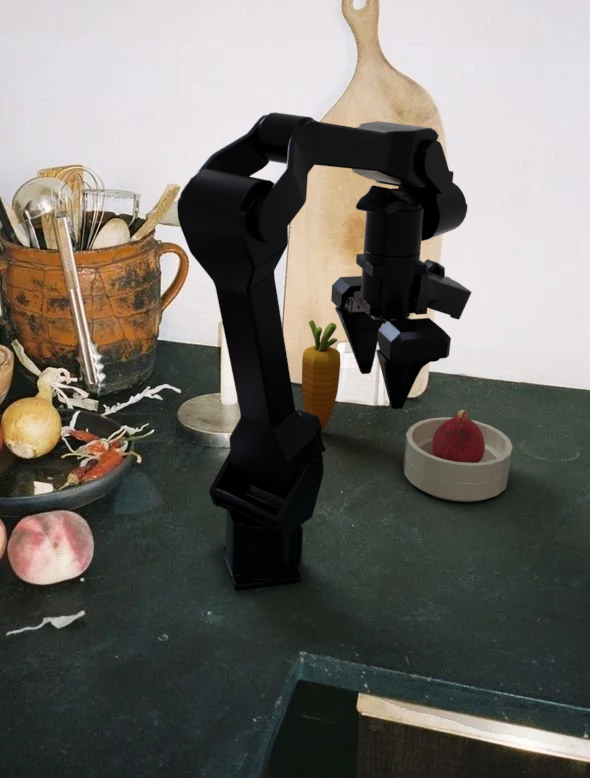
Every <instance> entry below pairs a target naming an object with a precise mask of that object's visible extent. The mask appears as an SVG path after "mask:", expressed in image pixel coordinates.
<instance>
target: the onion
mask: <svg viewBox="0 0 590 778" xmlns="http://www.w3.org/2000/svg"><path fill="white" fill-rule="evenodd" d="M468 415H469V412H468V411H466V409H460V410H458V411H457V414H456V415H455V416H454V417H451V419H449V420H447V421H445V422H444V423H443V424H442V425H440V426H439V427H438V429H437V430H436V432H435V434H434V436H433V441H432V452H433V454H434V456H436V457H438V458H441V459H445V460H450V461H454V462H465V463H479V462H480V460H481V459H482V457H483V455H484V451H485V444H484V438H483V435H482V432H481V430H480V429H479V427H478V426H477V425H476V424H475V423H474V422H473V421H471V420H472V419H470V418H468Z"/></svg>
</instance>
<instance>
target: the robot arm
mask: <svg viewBox="0 0 590 778" xmlns="http://www.w3.org/2000/svg"><path fill="white" fill-rule="evenodd" d="M438 139H439V134H438V132H437V131H436V129H434V128H432V127H426V126H420V125H419V126H418V125H411V124H404V123H395V122H387V121H380V120H376V121H369V122H363V123H361V124H359V125H358V126H357V127H353V126H348V125H343V124H334V123H330V122H329V123H328V122H324V121H323V122H321V121H318V120H316V119H314V118H313V117H311V116H306V115H297V114H291V113H283V112H275V111H274V112H269V113H268V114H262V116H260V117H259V119H257V120H256V121H255V122H254V124H253V126H251V128H249V130H248V131H247V133H245V134H243V135H242V136H240V137H238V138H236V139H235V140H233V141H231V142H230V143H228V144H226V145H225V146H222V147H221V148H220V149H218V150H216V151H214V152H213V153H212V154H211V155H209V156H208V158H207V159H206V160H205V162H204V163H203V164H202V165H201V166H200V168H199V169H198V170H197V171H196V172H195V173H194V175H192V176H191V177H190V178H189V180H188V182H187V183H186V185H184V187H183V189H182V190H181V192H180V195H179V198H177V207H176V211H177V220H178V224H179V226H180V229H181V231H182V234H183V237H184V240H185V242H186V245H187V248H188V250H189V253H190V254H191V255H192V257H193V258H194V259H195V260H196V262H197V263H198V264H199V265H200V267H201V268H202V269H203V270H204V272H205V273H206V275H208V276H209V278H210V279H211V281H212V282H213V285H214V287H215V293H216V297H217V302H218V307H219V312H220V313H219V314H220V317H221V323H222V328H223V332H224V338H225V342H226V347H227V353H228V357H229V362H230V367H231V373H232V378H233V383H234V388H235V393H236V398H237V402H238V408H239V414H240V415H239V416H240V418H239V419H238V421H237V423H236V425H235V427H234V428H233V430H232V431H231V434H230V435H229V453H228V455H227V456H226V458H225V460H224V462H223V463H222V465H221V467H220V469H219V471H218V473H217V475H216V476H215V478H214V480H213V482H212V483H211V485H210V487H209V490H208V492H209V496H210V499H211V502H212V505H213V506H216V507H220V508H222V509H224V510H226V523H225V524H226V525H225V526H226V527H225V528H226V529H225V537H226V539H225V545H224V546H222V547H221V556H222V558H223V561H224V563H225V567H226V569H227V571H228V575H229V577H230V580H231V582H232V585H233V587H234V589H237V590H244V589H251V588H252V589H253V588H259V587H267V586H275V585H284V584H292V583H298V582H301V580H302V572H301V570H300V569H299V567H298V566H299V565H301V563H302V560H303V541H304V540H303V539H304V538H303V537H304V528H303V526H302V525H303V524H305V523H306V522H307V521H309V520H310V519H312V518H313V515H314V512H315V508H316V504H317V501H318V496H319V493H320V489H321V484H322V481H323V477H324V473H325V471H324V470H325V467H324V456H323V453H324V452H326V450H327V448H326V445H324V442H323V436H322V431H321V423H320V420H319V418H318V416H316V415H313V414H311V413H308V412H305V410H302V409H300V408H297V407H296V405H295V398H294V393H293V386H292V381H291V373H290V367H289V360H288V356H287V355H288V354H287V348H286V342H285V336H284V335H285V334H284V328H283V321H282V316H281V311H280V304H279V298H278V297H279V296H278V291H277V285H276V276H275V270H276V269H277V266H278V265H279V263H280V261H281V258H282V257H283V255H284V253H285V251H286V249H287V247H288V244H289V225H290V224H291V223H292V221H293V220H294V219H295V218H296V217H297V215H298V214H299V212H300V211H301V210H302V208H303V207H304V205H305V204H306V201H307V193H308V179H309V178H308V177H309V173H310V171H311V170H312V169H313V168H314V166H321V167H332V168H339V169H351V171H352V172H353V173H354V174H357V175H358V176H360V177H363V178H365V179H368V180H372V181H375V182H376V183H377V184H381V185H388V186H392V188H390V187H384V186H381V185H380V186H379V185H373V184H372V185H371V186H370V187H369V189H368V191H366V193H365V194H364V195H362V196H360V198H359V200H357V203H356V204H355V208H356V210H358V211H363V212H365V225H364V237H363V238H364V239H363V251H362V252H363V253H356V258H355V259H356V260H355V264H356V265H357V266H358V267H359V268H361V275H354V276H340V277H339V278H337V280H336V281H335V282H334V283H333V284H332V285H331V296H330V297H331V298H330V301H331V302H332V304H334V305H335V308H334V309H335V312H336V314H337V316H338V318H339V320H340V321H339V322H340V323H341V326H342V328H343V331H344V333H345V335H346V338H347V340H348V341H347V342H348V344H349V346H350V348H351V351H352V353H353V356H354V359H355V361H356V365H357V367H358V370H359V372H360V374H362V375H369V374H371V373H372V369H373V365H374V361H375V356H377V360H378V363H379V367H380V370H381V374H382V378H383V382H384V386H385V391H386V394H387V397H388V400H389V404H390V407H391V409H392V410H402V409H403V408H404V405H405V404H406V401H407V399H408V397H409V395H410V393H411V390H412V388H413V386H414V384H415V382H416V380H417V378H418V376H419V374H420V372H421V371H422V369H423V368H424V367H425V366H427V365H428V364H429V363H434V362H438V361H440V360H441V359H447V358H448V357H449V356H450V352H451V351H450V350H451V342H452V337H451V336H450V335H449V334H448V333H447V332H446V331H445V330H444V329H443V328H442V327H440V325H438V324H437V323H436V322H435V321H434V320H432V319H431V318H430V317H419V318H410V317H411V314H415V315H416V316H418V315H419V316H420V315H427V314H428V309H429V310H433V311H435V312H438V313H441V314H445V315H449V317H450V318H451V319H454V320H460V319H461V317H462V314H463V313H464V310H465V308H466V306H467V303H469V299H470V297H471V295H472V293H473V292H472V291H471V290H470V289H468V287H465V286H464V285H463V284H461V283H459V282H458V281H456V280H454V279H452V277H449V276H446V272H445V271H446V268H445V266H443V265H442V264H441V263H439V262H437V261H434V260H431V259H429V258H427V259H426V260H425V261H422V260H421V248H422V242H424V241H428V240H431V239H433V238H435V237H438V236H441V235H443V234H446V233H449V232H452V231H454V230H456V229H457V228H459V227H460V226H461V225H462V224H463V222H464V220H465V219H466V217H467V213H468V203H467V199H466V197H465V194H464V192H463V190H461V188H460V187H459V186H458V185H457V184H456V183H455V182H454V171H452V170H450V169H449V165H448V162H447V159H446V155H445V152H444V151H445V150H444V148H443V145H442V143H441V142H440V141H439V140H438ZM270 162H272V163H277V164H278V163H279V164H283V165H284V164H285V165H286V169H285V170H284V171H283V173H281V175H280V177H278V179H277V181H275V182H273V181H272V180H270V179H264V178H259V177H255V176H253V175H254V174H256V173H258V172H259V171H261V170H263V169H264V168H265V167H267V165H268V164H269V163H270ZM377 346H378V348H379V349H377Z"/></svg>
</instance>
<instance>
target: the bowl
mask: <svg viewBox="0 0 590 778" xmlns="http://www.w3.org/2000/svg"><path fill="white" fill-rule="evenodd" d="M451 418H452V417H449V416H447V417H446V416H441V417H431V418H427V419H424V420H420V421H417V422H416V423H414V424H412V425H410V427H409V429H408V431H407V432H406V434H405V445H404V446H405V447H404V456H403V467H402V468H403V473H404V476H405V478H406V479H407V480H408V481H409V483H410V484H411V485H413V486H415V487H416V488H417V489H419V490H420V491H422V492H424V493H425V494H427V495H431V496H432V497H435V498H437V499H438V498H439V499H442V500H446V501H451V502H459V503H471V502H479V501H484V500H488V499H490V498H493V497H497V496H499V495H501V493H502V492H504V491H505V490H506V489H507V486H508V484H509V478H510V477H509V475H510V470H511V463H512V457H513V449H514V446H513V443H512V442H511V439H510V438H509V437H508V436H507V435H506V434H505V433H504V432H502V431H501V430H499V429H497V428H496V427H493V426H492V425H489V424H486V423H484V422H480V421H477V420H473V419H470V420H471V421H473V422H474V423H475V424H476V425H477V426H478V427H479V429H480V430H481V432H482V435H483V438H484V444H485V451H484V455H483V457H482V459H481V460H480V462H479V463H465V462H454V461H450V460H445V459H441V458H438V457H436V456H434V454H433V452H432V441H433V436H434V434H435V432H436V430H437V429H438V427H439V426H440V425H442V424H443V423H444V422H445V421H447V420H449V419H451Z"/></svg>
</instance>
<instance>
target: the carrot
mask: <svg viewBox="0 0 590 778" xmlns="http://www.w3.org/2000/svg"><path fill="white" fill-rule="evenodd" d="M308 325H309V328H310V329H311V333H312V336H313V340H314V345H312V346H309V347H307V348H305V349H304V350H303V353H302V359H301V393H302V402H303V407H304V411H305V412H308V413H311V414H313V415H316V416H318V418H319V420H320V423H321V432H323V430H324V429H325V427H326V426H327V424H328V422H329V420H330V418H331V417H332V414H333V411H334V408H335V404H336V401H337V395H338V391H339V383H340V382H339V381H340V373H341V353H340V351H339V350H338V349H336V348H334V347H332V346H333V345H334V344H335V343H337V342H338V339H337V338H335V337H333V338H331V337H332V336H333V334H334V333H335V331H336V330H337V327H338V326H337V324H336V323H334V322H330V323H328V324H327V325H326V327H325V328H324V331H323V328H322V327H321V326H318V327H317V325H316V323H315V321H314V320H313V319H311V320H309V321H308ZM322 332H323V334H322Z"/></svg>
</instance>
